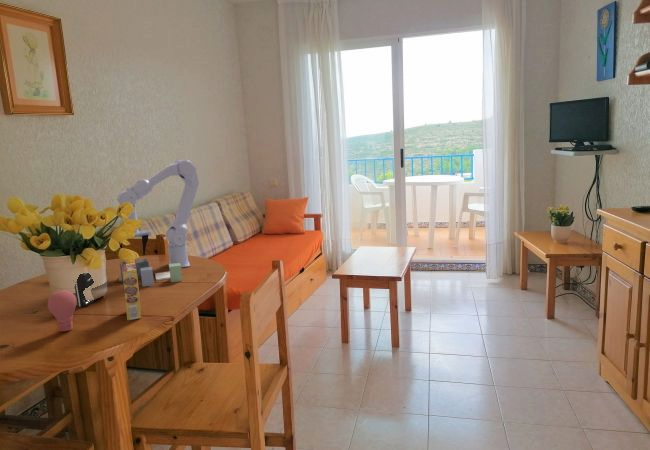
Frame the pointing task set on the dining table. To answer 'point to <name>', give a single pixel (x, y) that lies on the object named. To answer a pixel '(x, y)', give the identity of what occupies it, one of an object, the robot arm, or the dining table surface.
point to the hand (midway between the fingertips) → (133, 255)
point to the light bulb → (62, 308)
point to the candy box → (131, 291)
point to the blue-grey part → (147, 276)
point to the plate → (162, 275)
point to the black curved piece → (83, 288)
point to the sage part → (175, 272)
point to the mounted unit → (139, 264)
